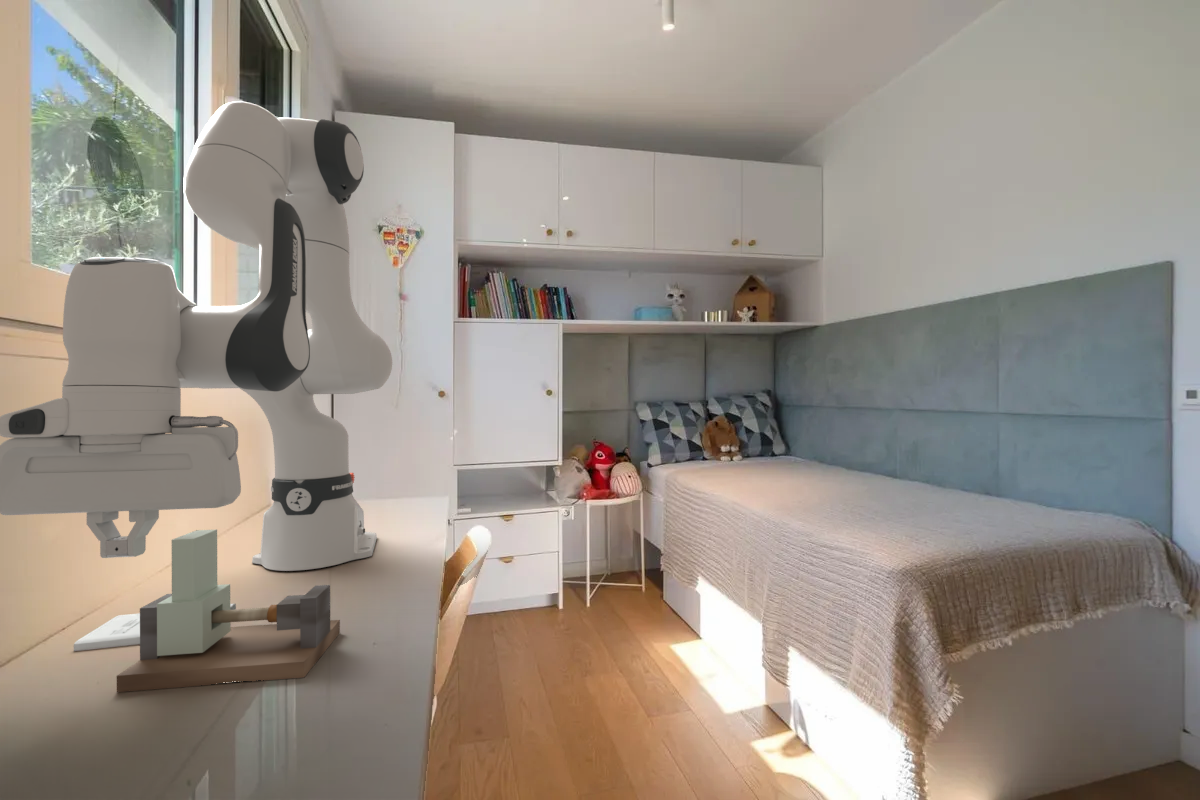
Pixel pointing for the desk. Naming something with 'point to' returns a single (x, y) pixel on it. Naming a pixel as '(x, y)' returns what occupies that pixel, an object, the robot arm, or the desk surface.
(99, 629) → the external hard drive
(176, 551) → the mint green stepped block
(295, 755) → the desk surface
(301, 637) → the rod rail stand
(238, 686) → the desk surface
